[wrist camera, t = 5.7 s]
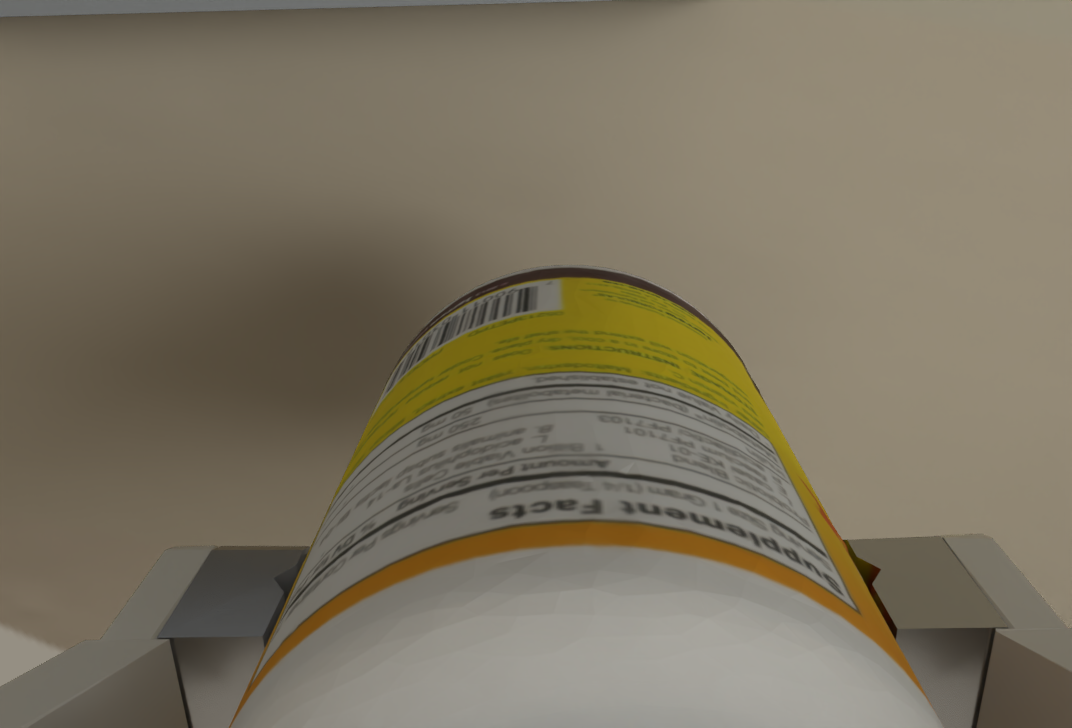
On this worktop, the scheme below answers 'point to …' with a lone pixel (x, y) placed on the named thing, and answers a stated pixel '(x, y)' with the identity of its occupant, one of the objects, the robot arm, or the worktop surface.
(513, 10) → the worktop surface
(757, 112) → the worktop surface
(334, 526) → the supplement bottle
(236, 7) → the tray
